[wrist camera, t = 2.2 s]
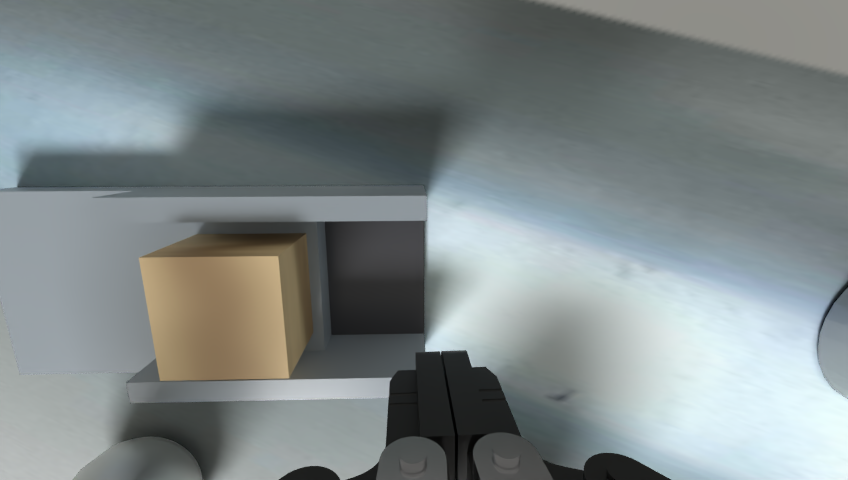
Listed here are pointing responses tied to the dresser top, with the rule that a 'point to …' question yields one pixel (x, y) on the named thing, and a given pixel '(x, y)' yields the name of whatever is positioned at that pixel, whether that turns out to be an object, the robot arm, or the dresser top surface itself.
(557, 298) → the dresser top surface
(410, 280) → the grey angular piece
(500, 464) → the robot arm
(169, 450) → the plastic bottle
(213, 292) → the oak block
